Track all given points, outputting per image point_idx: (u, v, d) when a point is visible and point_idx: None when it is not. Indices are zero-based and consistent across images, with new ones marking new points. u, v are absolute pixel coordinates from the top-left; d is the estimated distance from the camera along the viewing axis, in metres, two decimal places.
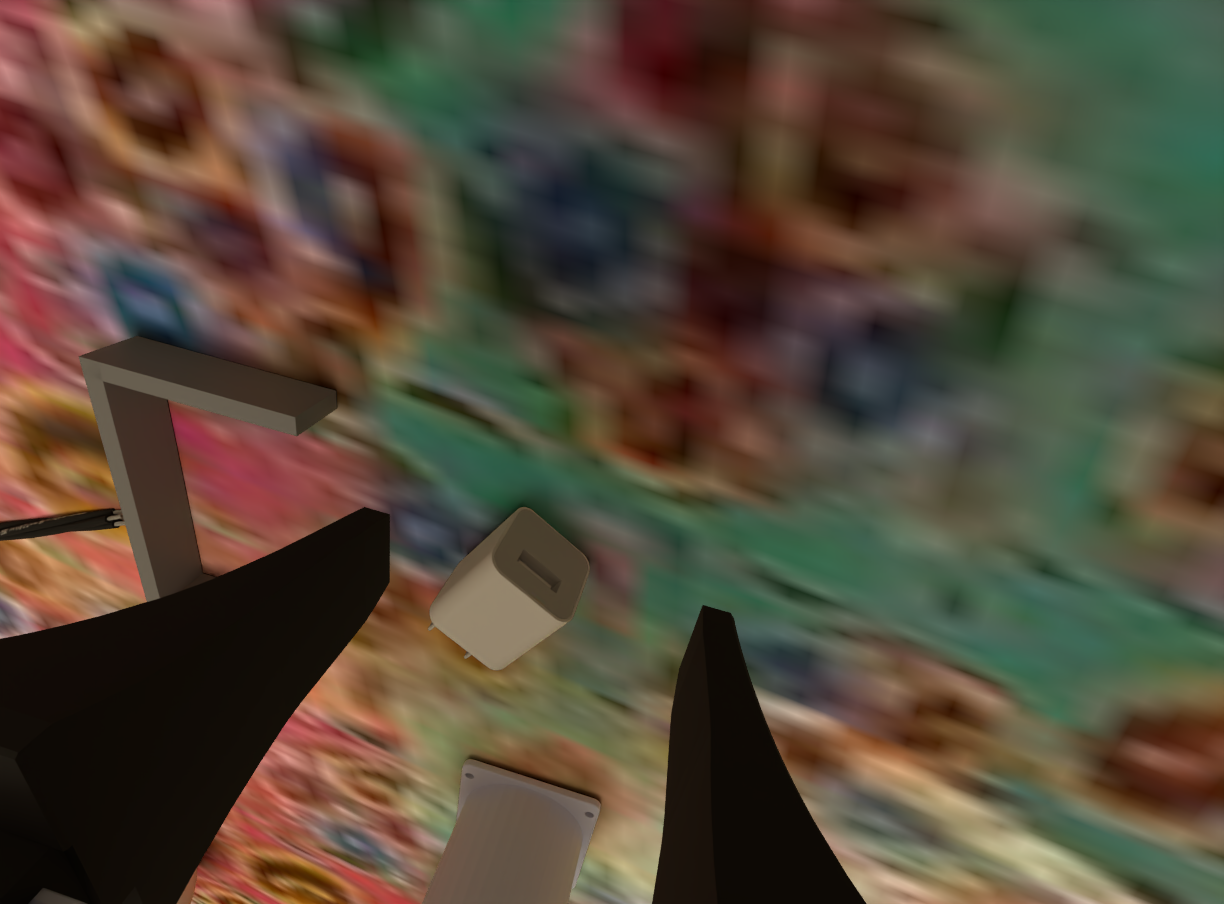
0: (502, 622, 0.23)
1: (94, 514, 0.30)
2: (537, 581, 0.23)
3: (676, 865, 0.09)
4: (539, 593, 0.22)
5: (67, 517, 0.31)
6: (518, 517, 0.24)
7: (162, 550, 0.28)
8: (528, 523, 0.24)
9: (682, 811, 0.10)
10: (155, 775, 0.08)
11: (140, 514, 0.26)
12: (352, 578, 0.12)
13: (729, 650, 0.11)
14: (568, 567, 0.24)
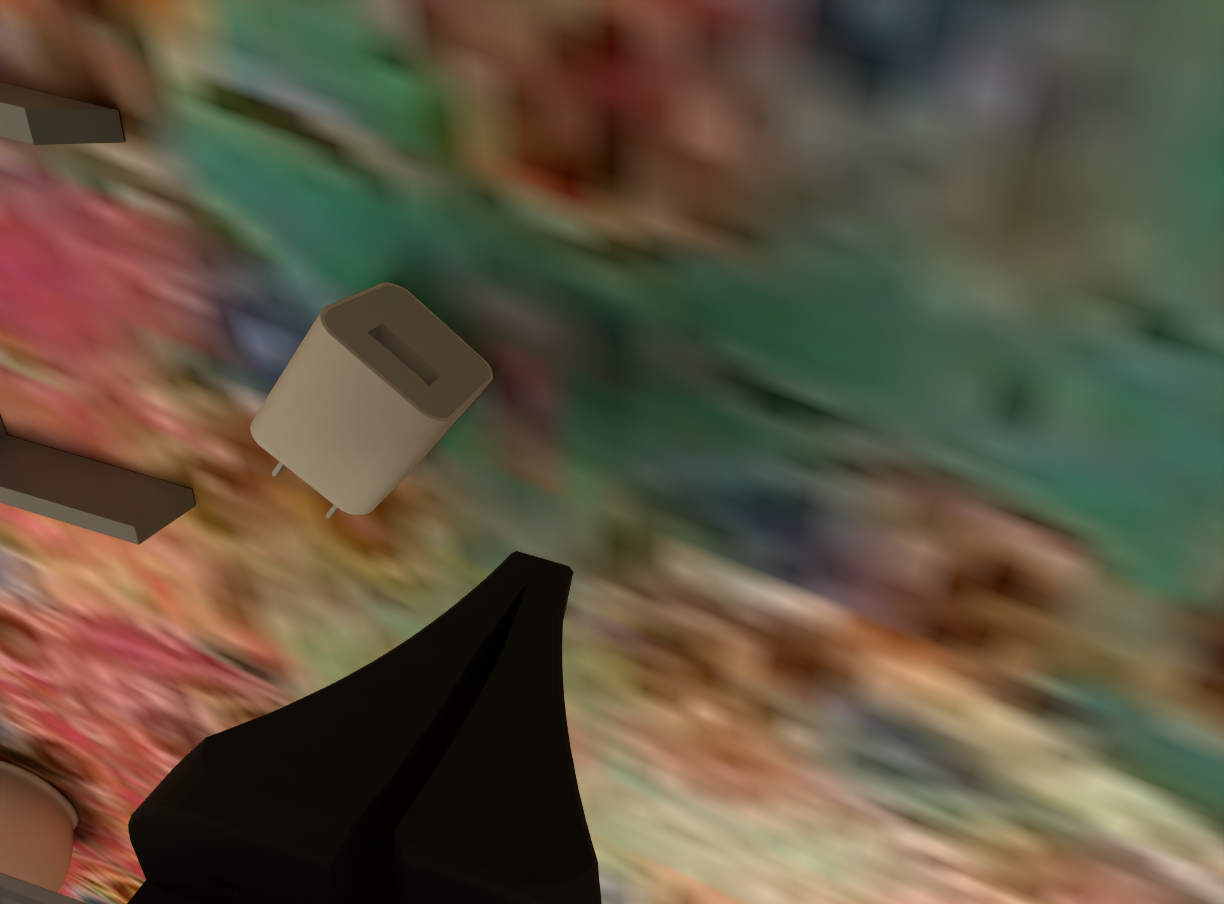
0: (346, 426, 0.15)
1: None
2: (398, 363, 0.15)
3: None
4: (398, 377, 0.15)
5: None
6: (382, 290, 0.17)
7: None
8: (399, 302, 0.17)
9: None
10: (391, 855, 0.08)
11: None
12: None
13: (549, 597, 0.12)
14: (456, 366, 0.17)
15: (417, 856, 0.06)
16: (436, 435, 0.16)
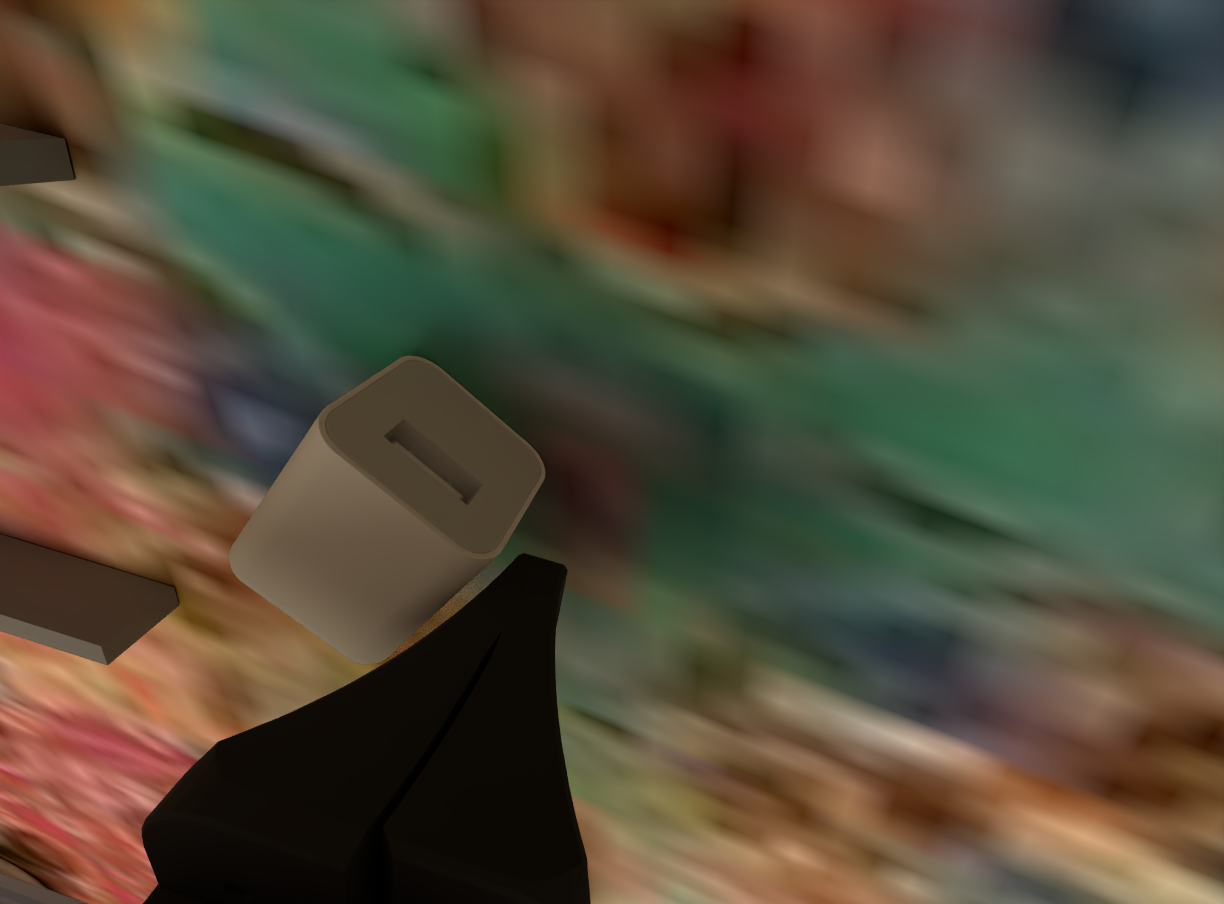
0: (356, 564, 0.11)
1: None
2: (426, 478, 0.11)
3: None
4: (427, 500, 0.11)
5: None
6: (401, 369, 0.13)
7: None
8: (423, 382, 0.13)
9: None
10: None
11: None
12: None
13: (543, 595, 0.12)
14: (500, 466, 0.13)
15: (405, 852, 0.06)
16: None
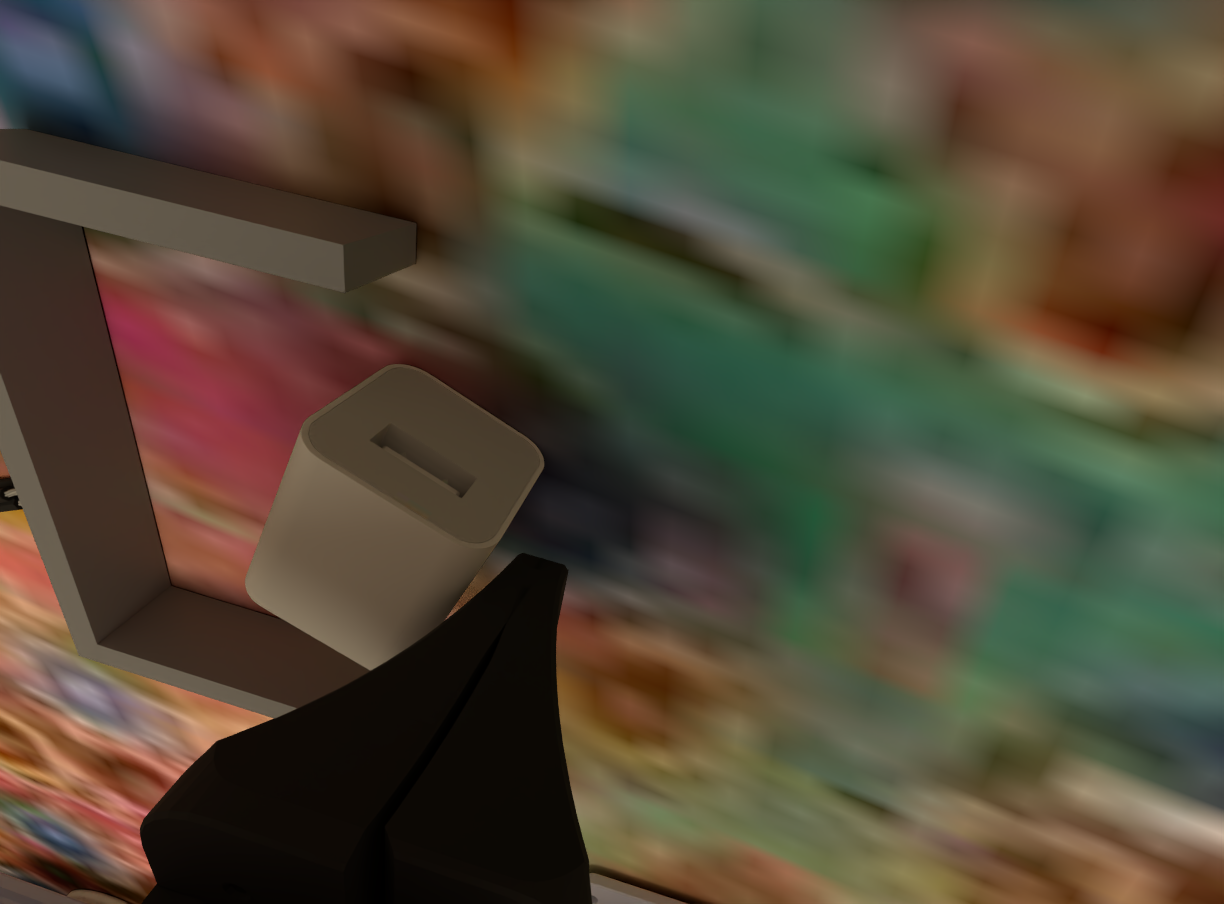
0: (360, 570, 0.11)
1: None
2: (416, 476, 0.11)
3: None
4: (418, 496, 0.11)
5: None
6: (386, 376, 0.13)
7: (95, 548, 0.16)
8: (410, 387, 0.13)
9: None
10: None
11: (44, 479, 0.14)
12: None
13: (544, 596, 0.12)
14: (495, 459, 0.13)
15: (407, 853, 0.06)
16: (481, 564, 0.11)
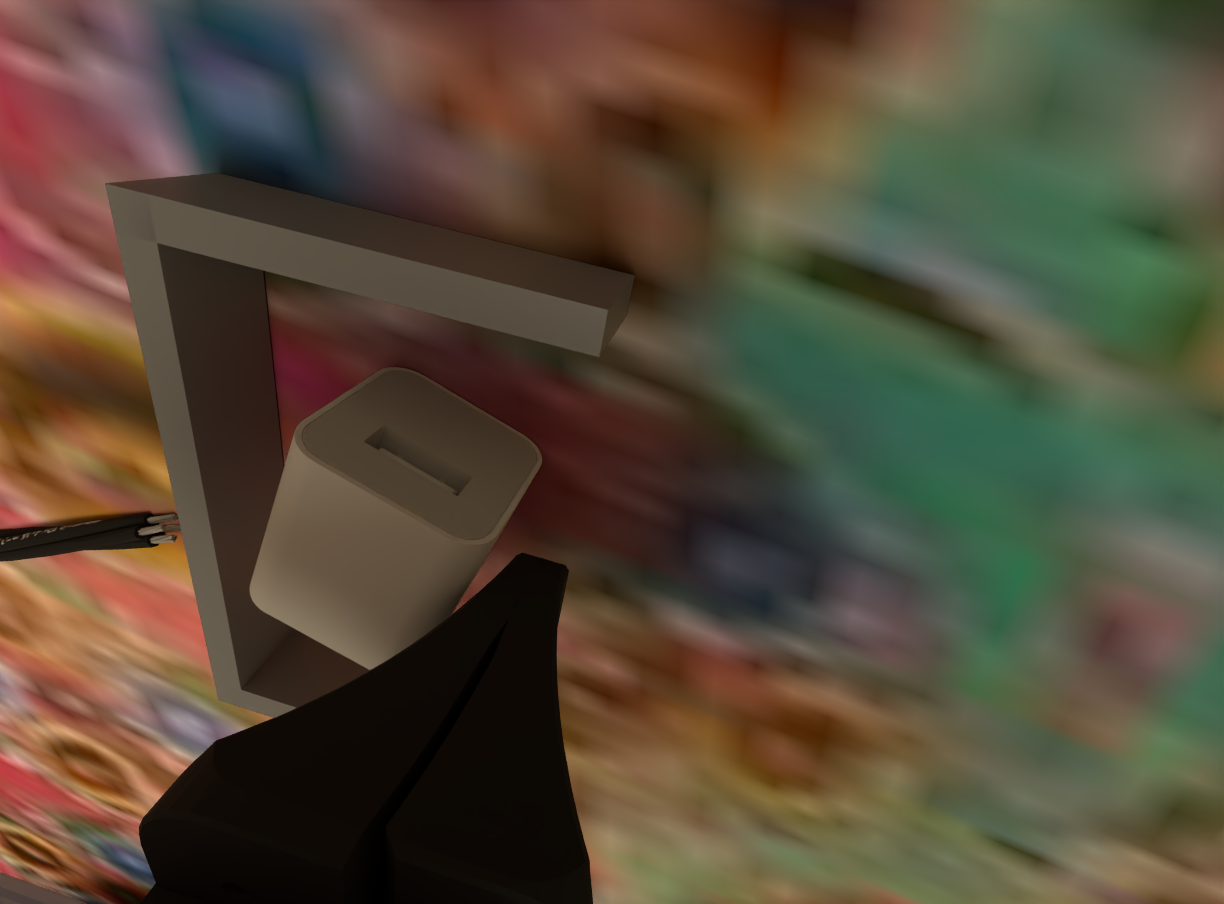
0: (359, 572, 0.11)
1: (115, 523, 0.18)
2: (411, 475, 0.11)
3: None
4: (413, 495, 0.11)
5: (68, 529, 0.18)
6: (380, 379, 0.13)
7: (247, 594, 0.16)
8: (404, 389, 0.13)
9: None
10: None
11: (215, 529, 0.14)
12: None
13: (544, 596, 0.12)
14: (491, 457, 0.13)
15: (408, 853, 0.06)
16: (479, 561, 0.11)
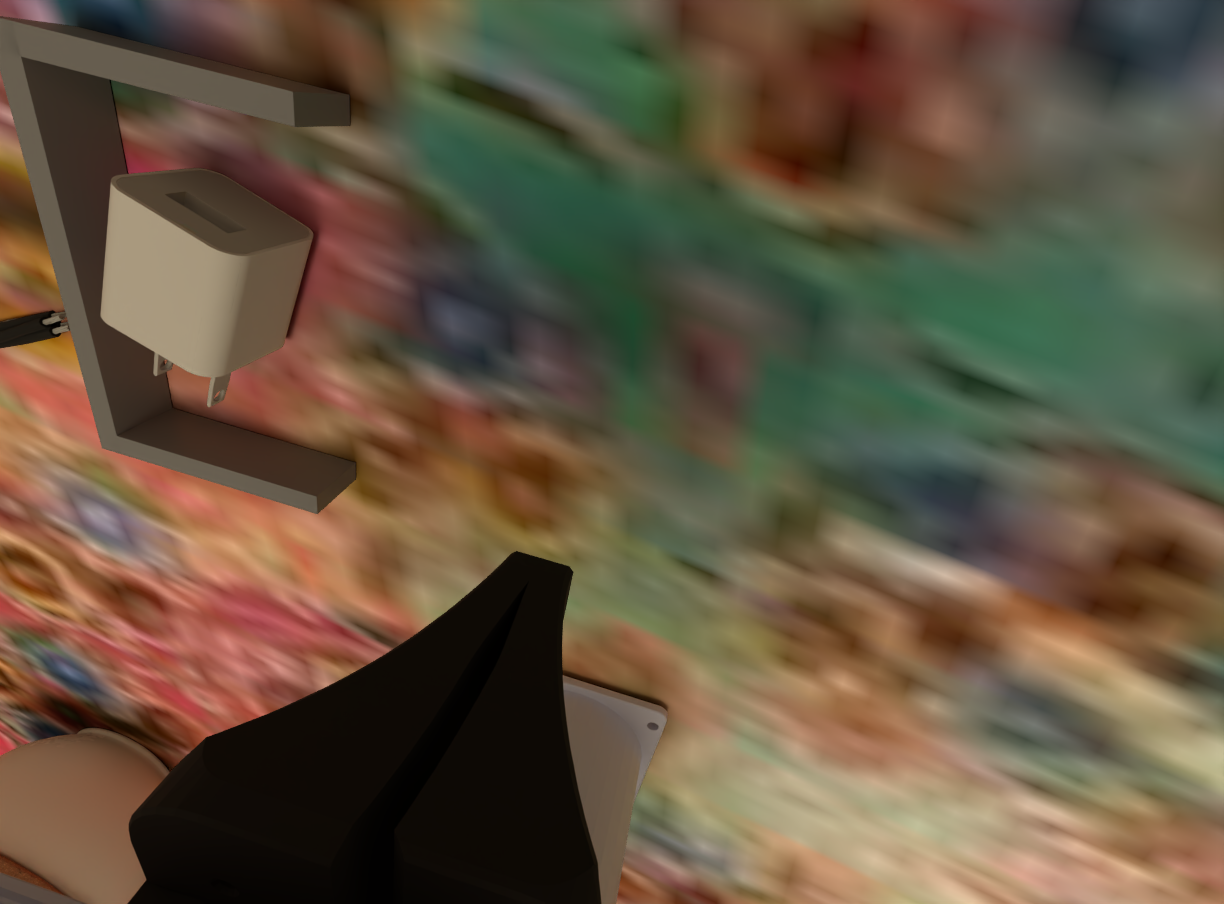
0: (163, 281, 0.17)
1: (27, 319, 0.24)
2: (195, 216, 0.17)
3: None
4: (192, 224, 0.17)
5: None
6: (193, 172, 0.19)
7: (116, 356, 0.21)
8: (211, 181, 0.19)
9: None
10: (392, 855, 0.08)
11: (83, 289, 0.20)
12: None
13: (549, 597, 0.12)
14: (268, 226, 0.19)
15: (417, 856, 0.06)
16: (242, 275, 0.17)
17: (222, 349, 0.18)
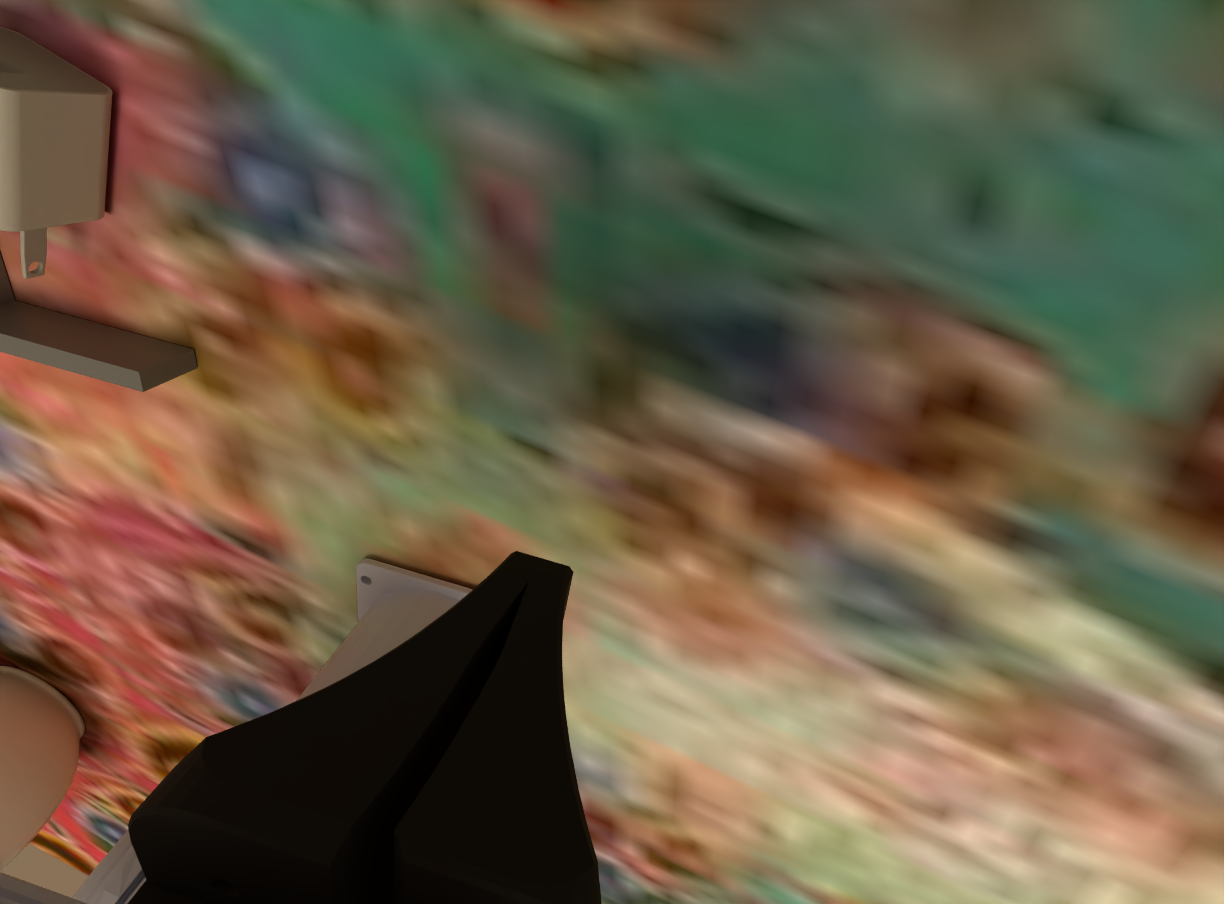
0: None
1: None
2: None
3: None
4: None
5: None
6: None
7: None
8: (1, 35, 0.19)
9: None
10: (392, 855, 0.08)
11: None
12: None
13: (549, 597, 0.12)
14: (56, 77, 0.18)
15: (417, 856, 0.06)
16: (12, 113, 0.17)
17: (9, 199, 0.18)
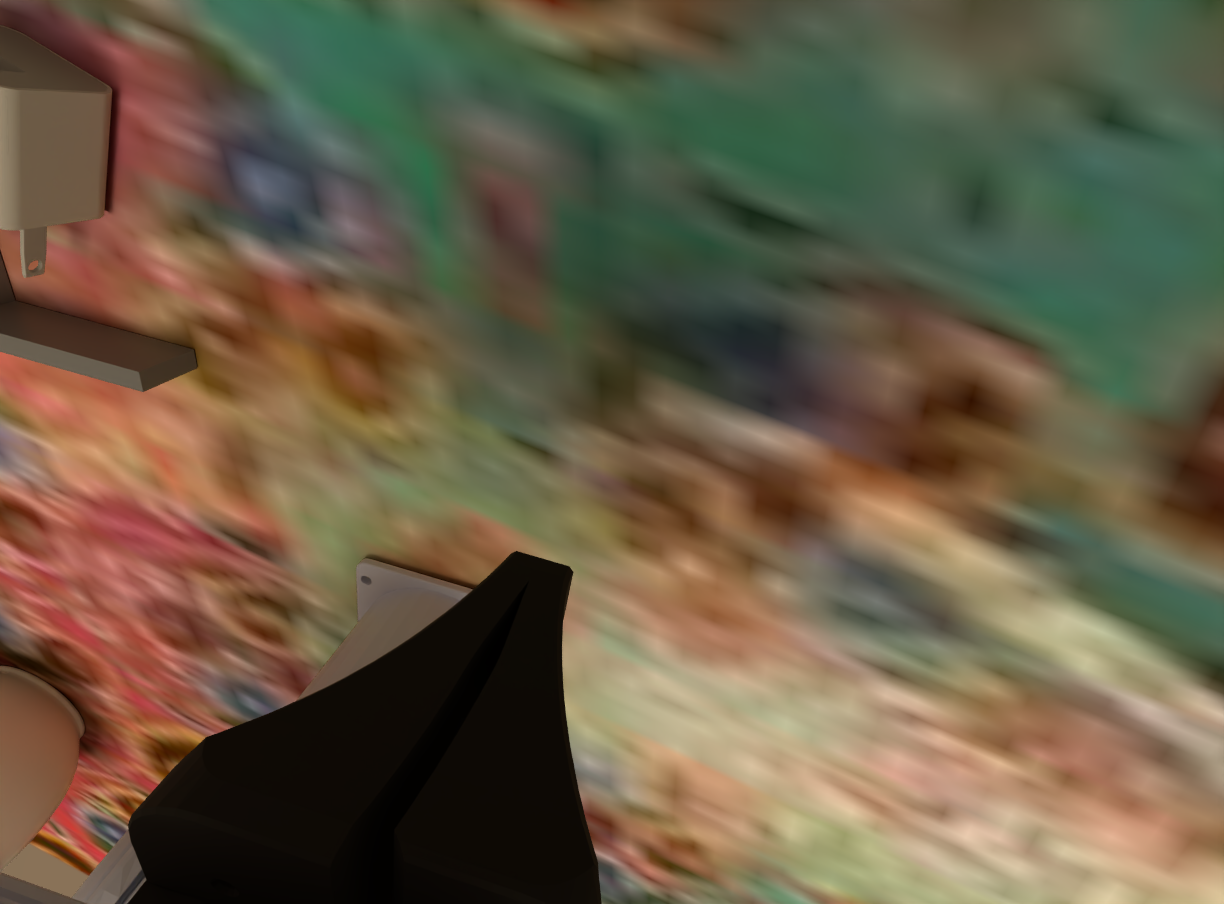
0: None
1: None
2: None
3: None
4: None
5: None
6: None
7: None
8: (1, 33, 0.19)
9: None
10: (392, 855, 0.08)
11: None
12: None
13: (549, 597, 0.12)
14: (55, 75, 0.18)
15: (417, 856, 0.06)
16: (12, 112, 0.17)
17: (9, 198, 0.18)
